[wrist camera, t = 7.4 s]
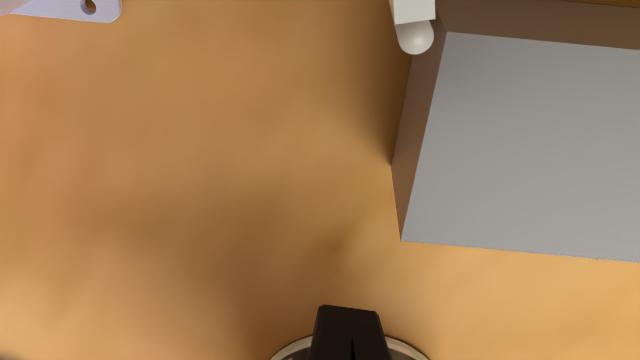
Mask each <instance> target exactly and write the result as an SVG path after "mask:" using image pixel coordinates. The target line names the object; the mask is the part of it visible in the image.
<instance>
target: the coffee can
mask: <svg viewBox="0 0 640 360" xmlns="http://www.w3.org/2000/svg"><path fill="white" fill-rule="evenodd" d="M312 336H313V335H312ZM312 336H309V337H305V338H303V339H300V340H298V341H295V342H293V343H291V344H289V345H287V346H285V347H284V348H283V349H281V350H280V351H279V352H277V353H276V354H275V355H274V356H273V357H272V358H271V360H307V359H308V355H309V350H310V346H311V341H312ZM385 339H386V342H387V345H388V348H389V351H390V353H391V356H392V359H393V360H429V359H428V358H426V357H425V356H424V355H423V354H421V353H420V352H418V351H417V350H416V349H414V348H413V347H411V346H409V345H408V344H406V343H404V342H401V341H399V340H396V339H393V338H390V337H387V336H385Z"/></svg>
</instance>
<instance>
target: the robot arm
mask: <svg viewBox="0 0 640 360" xmlns="http://www.w3.org/2000/svg"><path fill="white" fill-rule="evenodd" d="M91 1H92V2H94V3H95V6H96V11H95V12H94V11H91V10H89V9H88V8H87V6H86V4H85V0H0V17H2V16H3V15H5V14H17V15H28V16H38V17H49V18H59V19H70V20H80V21H91V22H101V23H111V22H113V21H115V20H116V19H117V18H119V17H120V15H121V13H122V2H121V0H91ZM307 360H393V359H392V356H391V353H390V351H389V348H388V345H387V342H386V339H385V336H384V333H383V329H382V326H381V323H380V319H379V315H378V314H377V313H376V312H375V311H368V310H361V309H353V308H346V307H339V306H331V305H322V306H320V307H319V308H318V313H317V317H316V322H315V327H314V332H313V336H312V341H311V346H310V350H309V355H308V359H307Z"/></svg>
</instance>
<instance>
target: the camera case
mask: <svg viewBox="0 0 640 360" xmlns="http://www.w3.org/2000/svg"><path fill="white" fill-rule="evenodd" d="M429 22H430V24H431V27H432V29H433V32H434V39H433V42H432V44H431V46H430V47H429V48H428V49H427V50H426V51H425V52H423V53H420V54H413V55H412V60H411V65H410V71H409V76H408V81H407V86H406V92H405V97H404V102H403V108H402V113H401V118H400V123H399V129H398V134H397V139H396V144H395V150H394V155H393V160H392V165H391V170H392V178H393V186H394V193H395V201H396V209H397V217H398V224H399V232H400V240H401V241H408V242H418V243H429V244H440V245H451V246H462V247H473V248H484V249H494V250H505V251H516V252H527V253H538V254H549V255H560V256H570V257H581V258H592V259H603V260H614V261H625V262H636V263H640V8H632V7H622V6H611V5H601V4H591V3H580V2H570V1H560V0H435V19H432V20H429Z"/></svg>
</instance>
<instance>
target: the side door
mask: <svg viewBox="0 0 640 360" xmlns="http://www.w3.org/2000/svg"><path fill="white" fill-rule="evenodd" d="M388 1H389V5H390V9H391V13H392V17H393V21H394V26H395V30H396V34H397V38H398V42H399V45H400V47H401V48H402V50H404V51H405V52H406V53H409V54H420V53H423V52H425V51H426V50H427V49H428V48H429V47H430V46H431V44H432V42H433V39H434V32H433V29H432V27H431V24H430V22H429V20H432V19H435V0H388Z"/></svg>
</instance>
